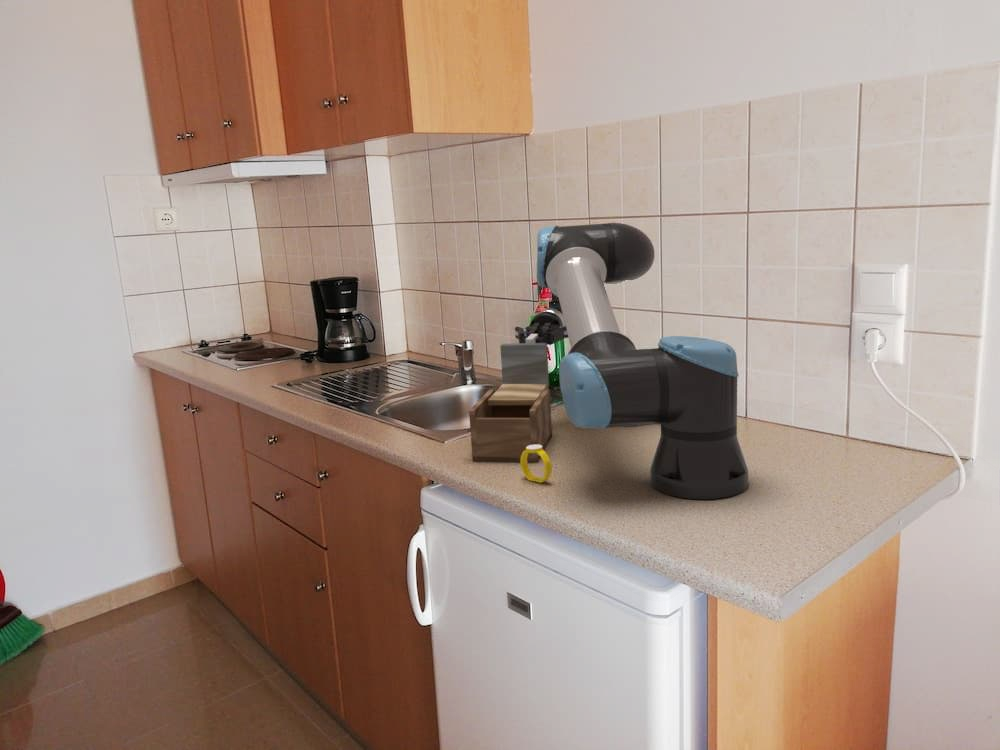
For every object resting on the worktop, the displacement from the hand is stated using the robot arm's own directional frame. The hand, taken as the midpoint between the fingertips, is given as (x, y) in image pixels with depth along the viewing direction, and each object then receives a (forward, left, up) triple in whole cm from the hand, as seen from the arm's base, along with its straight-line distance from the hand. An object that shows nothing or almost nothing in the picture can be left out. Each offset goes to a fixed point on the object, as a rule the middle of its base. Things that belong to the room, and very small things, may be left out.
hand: (529, 345), depth 165 cm
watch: (-38, -2, -16) cm, 42 cm away
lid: (-12, +2, -8) cm, 15 cm away
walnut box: (-20, +3, -16) cm, 26 cm away
